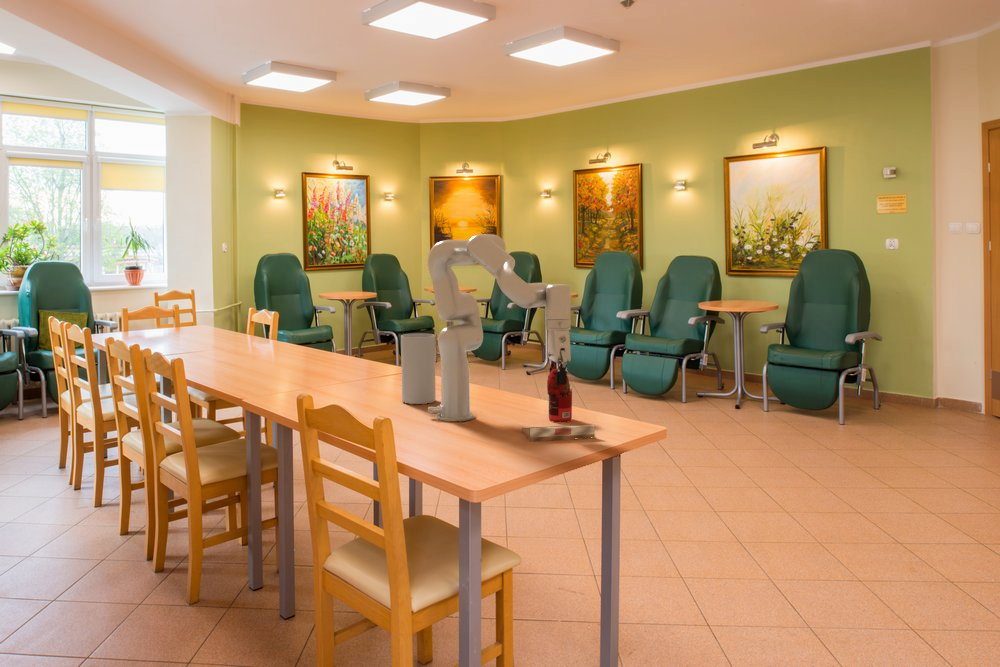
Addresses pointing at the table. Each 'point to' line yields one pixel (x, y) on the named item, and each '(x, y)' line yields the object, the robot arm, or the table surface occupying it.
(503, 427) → the table surface
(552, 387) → the red clay folk toy
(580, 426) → the shelf board
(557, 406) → the canned food
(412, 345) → the cylinder vase
